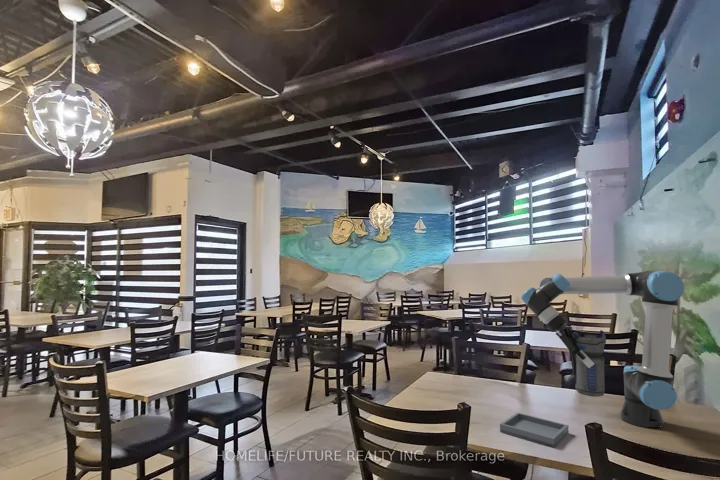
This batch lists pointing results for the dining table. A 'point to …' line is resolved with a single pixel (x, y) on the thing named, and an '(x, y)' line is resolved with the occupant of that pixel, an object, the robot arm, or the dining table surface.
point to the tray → (534, 429)
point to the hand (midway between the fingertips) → (595, 363)
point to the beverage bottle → (593, 377)
